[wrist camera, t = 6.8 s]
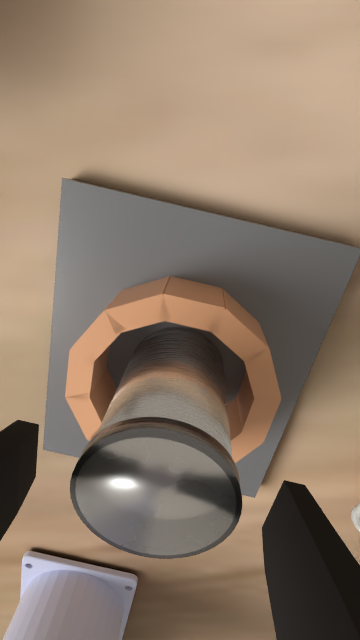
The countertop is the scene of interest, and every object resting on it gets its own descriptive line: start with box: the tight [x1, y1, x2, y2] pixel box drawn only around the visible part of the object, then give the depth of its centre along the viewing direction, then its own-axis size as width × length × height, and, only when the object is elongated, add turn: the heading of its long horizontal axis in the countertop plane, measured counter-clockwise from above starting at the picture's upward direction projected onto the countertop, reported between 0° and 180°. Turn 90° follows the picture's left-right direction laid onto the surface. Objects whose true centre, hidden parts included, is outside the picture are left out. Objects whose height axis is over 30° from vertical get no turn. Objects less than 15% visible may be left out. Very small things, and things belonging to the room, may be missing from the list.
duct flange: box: [43, 178, 360, 498], centre depth 14 cm, size 14×12×3 cm
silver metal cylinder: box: [70, 327, 242, 559], centre depth 12 cm, size 5×5×7 cm
